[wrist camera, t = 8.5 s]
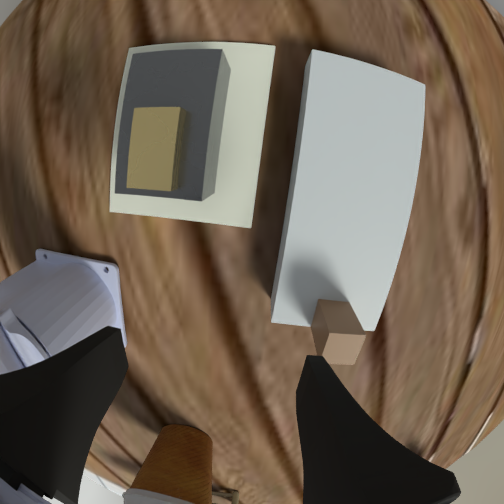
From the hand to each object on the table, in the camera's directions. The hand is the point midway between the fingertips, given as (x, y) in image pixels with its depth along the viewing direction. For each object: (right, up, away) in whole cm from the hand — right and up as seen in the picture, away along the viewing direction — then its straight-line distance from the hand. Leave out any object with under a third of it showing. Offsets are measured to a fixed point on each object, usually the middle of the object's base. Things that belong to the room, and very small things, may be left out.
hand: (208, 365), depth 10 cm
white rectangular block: (+7, +8, +7) cm, 13 cm away
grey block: (-3, +12, +6) cm, 13 cm away
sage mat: (-3, +12, +6) cm, 14 cm away
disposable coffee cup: (-6, -18, +17) cm, 25 cm away
